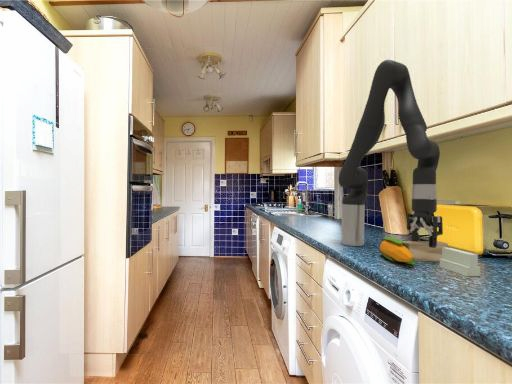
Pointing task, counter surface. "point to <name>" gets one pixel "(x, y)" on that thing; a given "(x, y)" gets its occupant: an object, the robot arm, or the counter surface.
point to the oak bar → (425, 250)
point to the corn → (396, 250)
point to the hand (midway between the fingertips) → (423, 245)
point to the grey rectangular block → (460, 262)
